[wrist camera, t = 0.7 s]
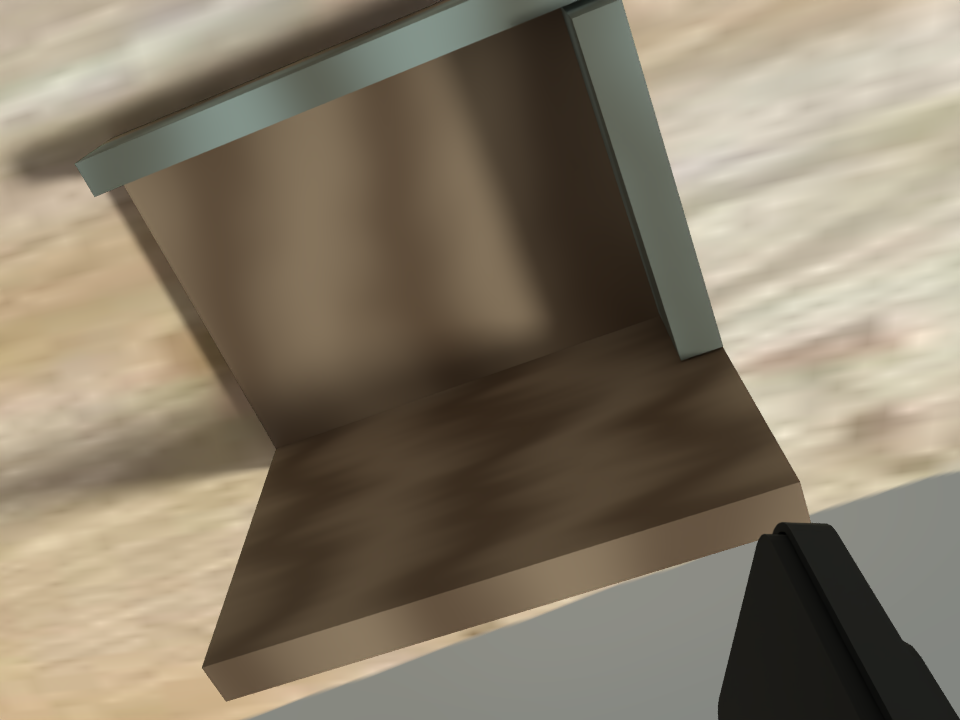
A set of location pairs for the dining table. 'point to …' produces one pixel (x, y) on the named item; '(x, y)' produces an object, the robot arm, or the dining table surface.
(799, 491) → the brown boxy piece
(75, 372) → the dining table surface
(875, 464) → the dining table surface
